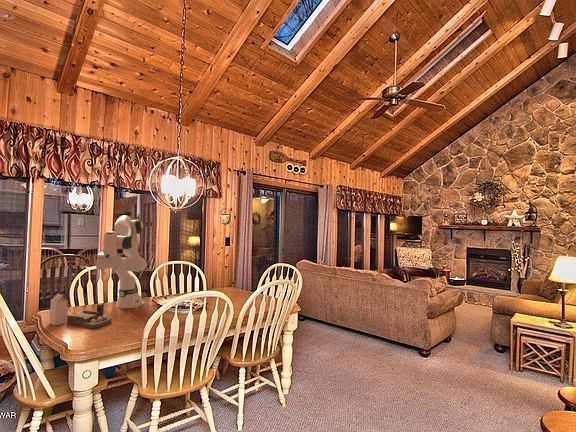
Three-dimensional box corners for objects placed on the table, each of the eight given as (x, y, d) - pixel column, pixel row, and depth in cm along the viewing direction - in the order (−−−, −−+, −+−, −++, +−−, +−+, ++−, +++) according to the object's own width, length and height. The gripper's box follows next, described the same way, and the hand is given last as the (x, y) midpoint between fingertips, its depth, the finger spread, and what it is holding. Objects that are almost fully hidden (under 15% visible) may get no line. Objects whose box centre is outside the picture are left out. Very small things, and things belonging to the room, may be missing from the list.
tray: (98, 321, 233) (99, 317, 233) (111, 323, 231) (111, 318, 231) (81, 327, 220) (82, 322, 220) (94, 329, 217) (95, 324, 217)
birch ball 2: (104, 322, 230) (99, 321, 231) (104, 316, 230) (99, 315, 231) (99, 324, 226) (94, 323, 227) (99, 318, 226) (94, 317, 227)
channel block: (84, 319, 236) (84, 310, 236) (98, 321, 233) (99, 311, 233) (66, 325, 223) (67, 315, 223) (81, 327, 220) (82, 317, 220)
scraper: (92, 318, 240) (93, 303, 240) (95, 317, 243) (96, 302, 243) (103, 319, 238) (104, 305, 238) (107, 318, 240) (107, 304, 241)
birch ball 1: (96, 325, 224) (91, 322, 225) (99, 320, 224) (94, 317, 224) (92, 327, 220) (87, 324, 221) (94, 321, 220) (89, 318, 220)
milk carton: (61, 321, 230) (62, 292, 231) (66, 323, 227) (68, 294, 227) (49, 323, 224) (50, 294, 225) (54, 325, 221) (56, 296, 221)
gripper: (116, 252, 251) (115, 271, 251) (94, 255, 232) (93, 275, 231) (124, 253, 250) (123, 272, 250) (102, 256, 230) (101, 276, 230)
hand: (108, 274), depth 240 cm, fingers open, 8 cm apart
